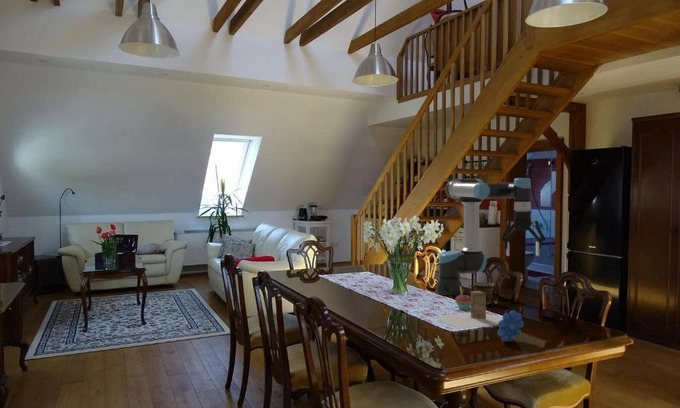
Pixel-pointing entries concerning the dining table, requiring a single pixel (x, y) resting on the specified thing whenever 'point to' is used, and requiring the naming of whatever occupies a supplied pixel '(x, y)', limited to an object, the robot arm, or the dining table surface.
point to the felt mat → (467, 320)
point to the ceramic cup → (484, 289)
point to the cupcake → (463, 301)
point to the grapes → (510, 326)
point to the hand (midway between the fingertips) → (522, 255)
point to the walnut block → (478, 305)
